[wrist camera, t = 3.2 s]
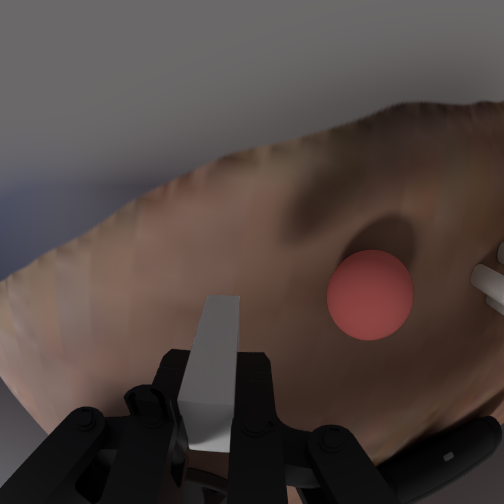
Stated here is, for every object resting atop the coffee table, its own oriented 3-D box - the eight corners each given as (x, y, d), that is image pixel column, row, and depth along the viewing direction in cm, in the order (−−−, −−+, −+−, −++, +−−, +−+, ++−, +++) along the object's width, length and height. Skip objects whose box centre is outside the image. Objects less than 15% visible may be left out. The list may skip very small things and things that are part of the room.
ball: (312, 314, 20) (334, 363, 14) (321, 238, 18) (353, 267, 13) (380, 311, 20) (415, 352, 15) (394, 241, 19) (440, 266, 13)
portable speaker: (487, 402, 28) (511, 434, 18) (471, 430, 31) (490, 459, 21) (368, 464, 29) (384, 511, 19) (363, 483, 32) (375, 523, 22)
